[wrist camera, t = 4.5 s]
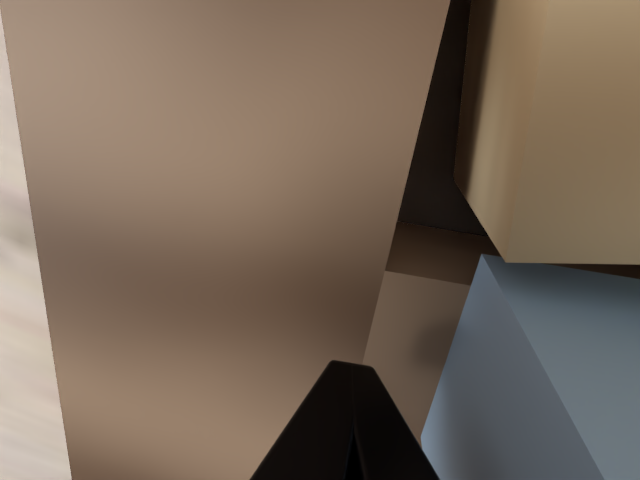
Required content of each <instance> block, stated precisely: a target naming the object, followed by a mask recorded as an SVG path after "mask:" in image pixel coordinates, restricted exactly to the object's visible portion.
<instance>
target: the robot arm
mask: <svg viewBox="0 0 640 480" xmlns="http://www.w3.org/2000/svg"><path fill="white" fill-rule="evenodd" d="M249 480H440V478H439V477H438V475H437V473H436V472H435V470H434V468H433V467H432V465H431V463H430V462H429V460H428V458H427V456H426V455H425V453H424V451H423V450H422V448H421V446H420V445H419V443H418V441H417V440H416V438H415V436H414V435H413V433H412V431H411V430H410V428H409V426H408V424H407V423H406V421H405V419H404V418H403V416H402V414H401V413H400V411H399V409H398V408H397V406H396V404H395V403H394V401H393V399H392V397H391V396H390V394H389V392H388V391H387V389H386V387H385V386H384V384H383V382H382V381H381V379H380V377H379V376H378V374H377V372H376V371H375V369H374V368H373V367H372V366H368V365H362V364H356V363H350V362H344V361H338V360H331V361H330V362H329V363H328V365H327V366H326V368H325V369H324V370H323V372H322V373H321V375H320V376H319V378H318V379H317V381H316V382H315V384H314V385H313V387H312V388H311V390H310V391H309V393H308V394H307V395H306V397H305V398H304V400H303V401H302V403H301V404H300V406H299V407H298V409H297V410H296V412H295V413H294V415H293V416H292V418H291V419H290V420H289V422H288V423H287V425H286V426H285V428H284V429H283V431H282V432H281V434H280V435H279V437H278V438H277V440H276V441H275V443H274V444H273V446H272V447H271V448H270V450H269V451H268V453H267V454H266V456H265V457H264V459H263V460H262V462H261V463H260V465H259V466H258V468H257V469H256V471H255V472H254V473H253V475H252V476H251V478H250V479H249Z"/></svg>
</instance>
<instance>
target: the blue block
mask: <svg viewBox="0 0 640 480" xmlns="http://www.w3.org/2000/svg"><path fill="white" fill-rule="evenodd" d="M421 444H422V450H423V451H424V453H425V455H426V456H427V458H428V460H429V462H430V463H431V465H432V467H433V468H434V470H435V472H436V473H437V475H438V477H439V478H440V480H640V279H636V278H629V277H623V276H617V275H611V274H604V273H598V272H592V271H586V270H580V269H573V268H567V267H561V266H555V265H548V264H542V263H505V261H504V259H503V258H502V257H499V256H492V255H486V254H481V257H480V260H479V263H478V266H477V269H476V272H475V275H474V278H473V281H472V284H471V287H470V290H469V293H468V296H467V299H466V302H465V305H464V308H463V311H462V314H461V317H460V320H459V323H458V326H457V329H456V332H455V335H454V338H453V341H452V344H451V347H450V350H449V353H448V356H447V359H446V362H445V365H444V368H443V371H442V374H441V377H440V380H439V383H438V386H437V389H436V392H435V395H434V398H433V401H432V404H431V407H430V410H429V413H428V416H427V419H426V422H425V425H424V428H423V431H422V434H421Z"/></svg>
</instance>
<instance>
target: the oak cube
mask: <svg viewBox="0 0 640 480" xmlns="http://www.w3.org/2000/svg"><path fill="white" fill-rule="evenodd" d="M453 180H454V181H455V183H456V184H457V186H458V188H459V189H460V191H461V192H462V194H463V196H464V197H465V199H466V200H467V202H468V203H469V205H470V207H471V208H472V210H473V211H474V213H475V215H476V216H477V218H478V219H479V221H480V223H481V224H482V226H483V227H484V229H485V231H486V232H487V234H488V235H489V237H490V239H491V240H492V242H493V243H494V245H495V247H496V248H497V250H498V251H499V253H500V255H501V256H502V258H503V259H504V261H505V263H569V264H636V265H640V0H471V7H470V17H469V27H468V37H467V47H466V57H465V67H464V77H463V86H462V96H461V106H460V116H459V126H458V136H457V146H456V156H455V166H454V176H453Z"/></svg>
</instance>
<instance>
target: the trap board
mask: <svg viewBox="0 0 640 480" xmlns="http://www.w3.org/2000/svg"><path fill="white" fill-rule="evenodd" d="M449 4H450V0H0V9H1V16H2V23H3V29H4V36H5V42H6V49H7V55H8V62H9V69H10V75H11V82H12V88H13V95H14V101H15V108H16V115H17V121H18V128H19V134H20V141H21V147H22V154H23V160H24V167H25V174H26V180H27V187H28V193H29V200H30V206H31V213H32V220H33V226H34V233H35V239H36V246H37V252H38V259H39V266H40V272H41V279H42V285H43V292H44V298H45V305H46V311H47V318H48V325H49V331H50V338H51V344H52V351H53V357H54V364H55V371H56V377H57V384H58V390H59V397H60V403H61V410H62V417H63V423H64V430H65V436H66V443H67V449H68V456H69V462H70V469H71V476H72V480H249V479H250V478H251V476H252V475H253V473H254V472H255V471H256V469H257V468H258V466H259V465H260V463H261V462H262V460H263V459H264V457H265V456H266V454H267V453H268V451H269V450H270V448H271V447H272V446H273V444H274V443H275V441H276V440H277V438H278V437H279V435H280V434H281V432H282V431H283V429H284V428H285V426H286V425H287V423H288V422H289V420H290V419H291V418H292V416H293V415H294V413H295V412H296V410H297V409H298V407H299V406H300V404H301V403H302V401H303V400H304V398H305V397H306V395H307V394H308V393H309V391H310V390H311V388H312V387H313V385H314V384H315V382H316V381H317V379H318V378H319V376H320V375H321V373H322V372H323V370H324V369H325V368H326V366H327V365H328V363H329V362H330V361H331V360H338V361H344V362H350V363H356V364H362V365H368V366H372V367H373V368H374V369H375V371H376V372H377V374H378V376H379V377H380V379H381V381H382V382H383V384H384V386H385V387H386V389H387V391H388V392H389V394H390V396H391V397H392V399H393V401H394V403H395V404H396V406H397V408H398V409H399V411H400V413H401V414H402V416H403V418H404V419H405V421H406V423H407V424H408V426H409V428H410V430H411V431H412V433H413V435H414V436H415V438H416V440H417V441H418V443H419V445H420V446H421V448H422V444H421V434H422V431H423V428H424V425H425V422H426V419H427V416H428V413H429V410H430V407H431V404H432V401H433V398H434V395H435V392H436V389H437V386H438V383H439V380H440V377H441V374H442V371H443V368H444V365H445V362H446V359H447V356H448V353H449V350H450V347H451V344H452V341H453V338H454V335H455V332H456V329H457V326H458V323H459V320H460V317H461V314H462V311H463V308H464V305H465V302H466V299H467V296H468V293H469V290H470V287H471V284H472V281H473V278H474V275H475V272H476V269H477V266H478V263H479V260H480V257H481V254H486V255H492V256H499V257H502V256H501V255H500V253H499V251H498V250H497V248H496V247H495V245H494V243H493V242H492V240H491V239H490V237H487V236H481V235H475V234H469V233H463V232H457V231H452V230H446V229H440V228H434V227H428V226H422V225H416V224H410V223H405V222H399V221H397V219H398V214H399V210H400V206H401V202H402V198H403V194H404V190H405V186H406V181H407V177H408V173H409V169H410V165H411V161H412V157H413V153H414V148H415V144H416V140H417V136H418V132H419V128H420V124H421V120H422V115H423V111H424V107H425V103H426V99H427V95H428V91H429V87H430V82H431V78H432V74H433V70H434V66H435V62H436V58H437V54H438V49H439V45H440V41H441V37H442V33H443V29H444V25H445V21H446V16H447V12H448V8H449ZM542 264H548V265H555V266H561V267H567V268H573V269H580V270H586V271H592V272H598V273H604V274H611V275H617V276H623V277H629V278H636V279H640V265H636V264H569V263H542Z"/></svg>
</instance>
